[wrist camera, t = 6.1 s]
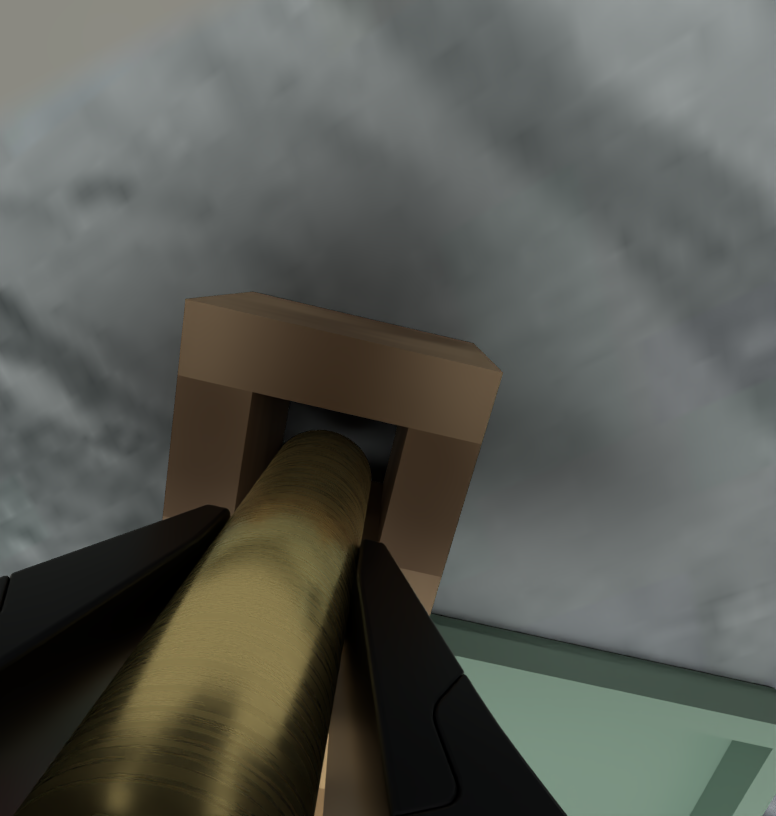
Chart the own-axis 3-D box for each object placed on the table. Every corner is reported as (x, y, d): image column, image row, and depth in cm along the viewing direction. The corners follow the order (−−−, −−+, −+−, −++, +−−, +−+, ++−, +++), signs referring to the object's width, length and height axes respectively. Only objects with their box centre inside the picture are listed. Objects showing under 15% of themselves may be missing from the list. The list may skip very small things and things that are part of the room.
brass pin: (360, 530, 12) (271, 1018, 4) (265, 509, 12) (-8, 964, 4) (381, 442, 11) (322, 824, 3) (281, 419, 11) (-12, 754, 3)
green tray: (774, 688, 18) (813, 733, 16) (646, 910, 21) (667, 966, 20) (413, 609, 17) (414, 646, 16) (344, 849, 21) (338, 901, 19)
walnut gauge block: (473, 343, 15) (502, 373, 10) (419, 536, 17) (424, 632, 12) (252, 291, 14) (185, 298, 10) (223, 493, 16) (156, 574, 12)
